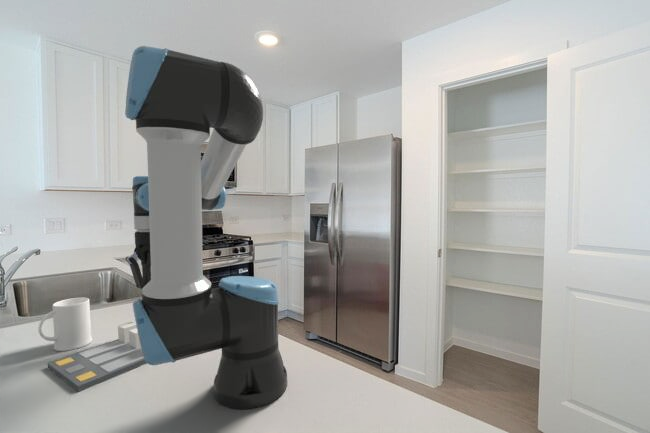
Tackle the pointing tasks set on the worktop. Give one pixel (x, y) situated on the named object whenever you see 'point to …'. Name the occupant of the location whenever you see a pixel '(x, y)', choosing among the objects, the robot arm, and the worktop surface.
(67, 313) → the mug
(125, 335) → the off-white cube
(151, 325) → the robot arm
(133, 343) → the cream cube block
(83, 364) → the switch bank
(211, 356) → the worktop surface
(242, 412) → the worktop surface
